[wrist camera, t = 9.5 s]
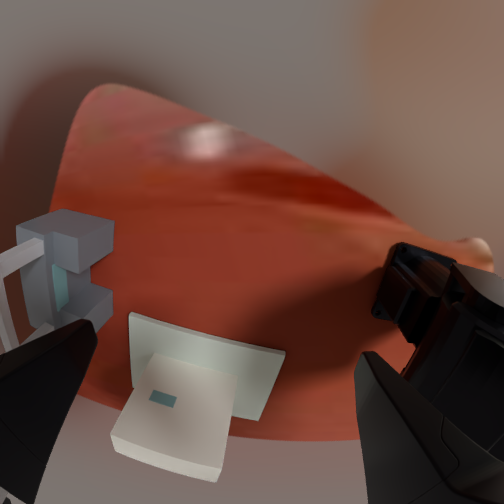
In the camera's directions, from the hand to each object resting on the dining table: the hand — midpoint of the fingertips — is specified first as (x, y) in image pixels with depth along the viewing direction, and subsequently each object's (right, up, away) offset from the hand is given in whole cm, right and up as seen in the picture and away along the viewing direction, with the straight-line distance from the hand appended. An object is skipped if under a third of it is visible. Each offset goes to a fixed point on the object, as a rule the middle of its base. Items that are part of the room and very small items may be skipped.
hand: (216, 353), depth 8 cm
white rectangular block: (-4, -9, +16) cm, 19 cm away
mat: (-4, -8, +17) cm, 19 cm away
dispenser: (-14, +2, +14) cm, 20 cm away
